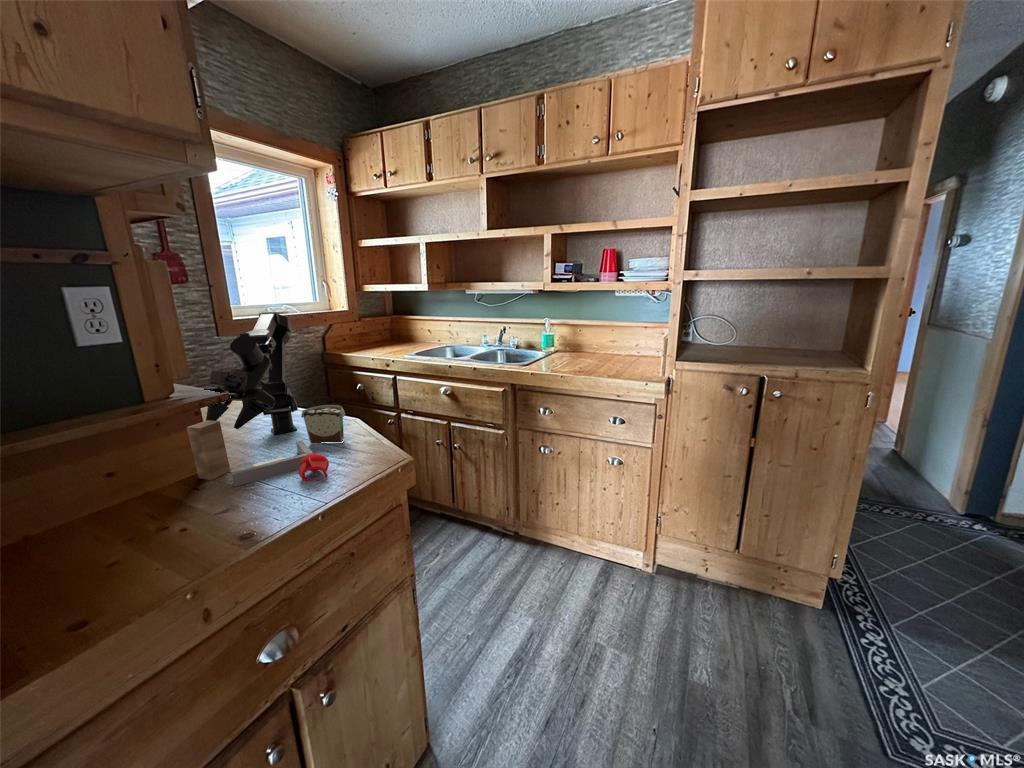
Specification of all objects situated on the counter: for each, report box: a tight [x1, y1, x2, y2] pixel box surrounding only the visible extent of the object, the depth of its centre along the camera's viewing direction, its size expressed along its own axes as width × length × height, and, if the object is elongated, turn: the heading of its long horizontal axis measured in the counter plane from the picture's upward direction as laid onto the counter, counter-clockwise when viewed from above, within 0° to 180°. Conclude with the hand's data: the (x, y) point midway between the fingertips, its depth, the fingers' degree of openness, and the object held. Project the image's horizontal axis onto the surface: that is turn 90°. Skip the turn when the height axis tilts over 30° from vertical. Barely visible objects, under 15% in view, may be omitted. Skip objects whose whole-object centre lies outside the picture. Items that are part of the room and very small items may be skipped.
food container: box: [301, 404, 346, 444], centre depth 119 cm, size 12×6×10 cm, turn 84°
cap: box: [297, 453, 330, 482], centre depth 96 cm, size 8×6×6 cm
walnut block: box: [186, 420, 231, 481], centre depth 99 cm, size 4×5×13 cm
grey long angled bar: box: [230, 440, 314, 488], centre depth 103 cm, size 12×17×3 cm
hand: (221, 427), depth 101 cm, fingers open, 9 cm apart
